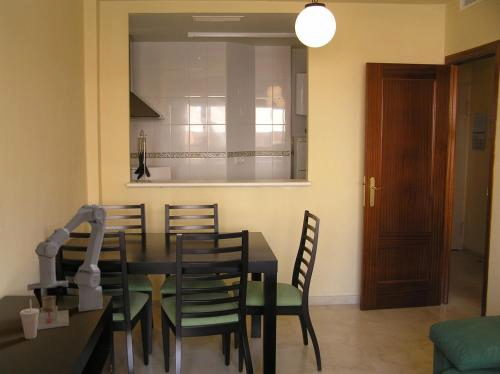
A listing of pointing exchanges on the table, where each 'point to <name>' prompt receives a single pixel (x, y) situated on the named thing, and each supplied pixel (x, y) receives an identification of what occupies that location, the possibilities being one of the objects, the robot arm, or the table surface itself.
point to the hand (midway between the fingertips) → (49, 306)
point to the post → (48, 303)
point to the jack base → (52, 319)
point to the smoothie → (30, 321)
